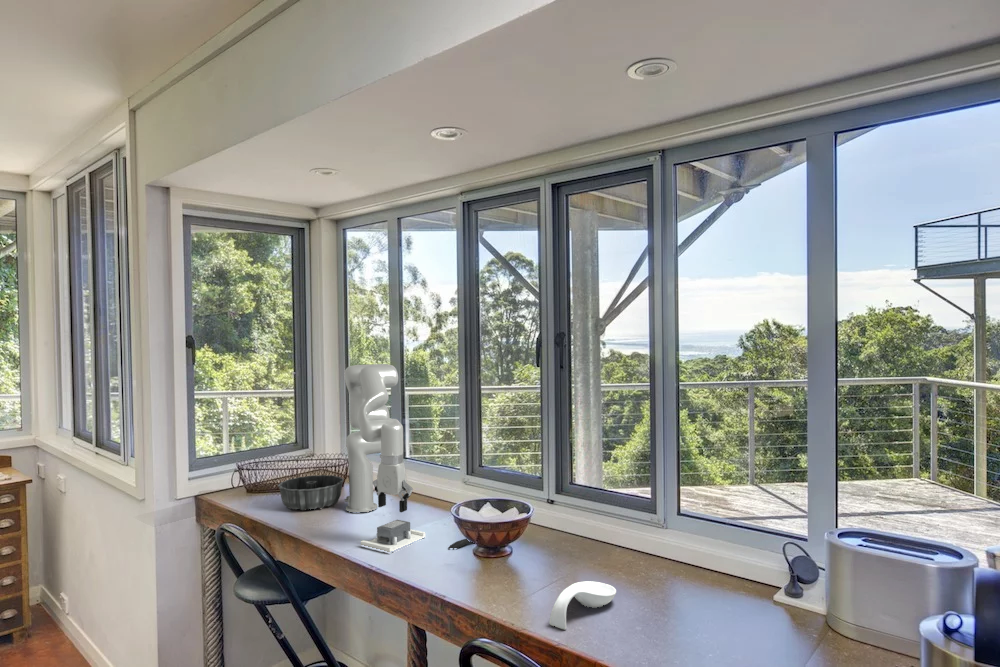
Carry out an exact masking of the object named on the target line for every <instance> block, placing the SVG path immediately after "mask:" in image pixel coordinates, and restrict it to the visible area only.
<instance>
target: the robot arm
mask: <svg viewBox="0 0 1000 667" xmlns="http://www.w3.org/2000/svg"><path fill="white" fill-rule="evenodd" d="M344 382H345V385H346V388H347V390H348V391H347V392H348V394H349V396H348V397H349V422H350V426H351V428H354V429H358V430H359V431H354V432H351V433H349V434H348V435H347V436H346V438H345V445H346V451H347V457H348V458H347V459H348V476H349V477H348V483H349V484H348V485H349V486H348V487H349V489H348V493H349V495H347V496H346V498H344V500H343V501H344V502H345V503H347V506H345V511H346V510H347V511H350V512H367V513H370V512H369V511H371V512H373V511H372V510H374V511H376V510H377V509H378V508H382V507H385V506H386V505H387V494H388V495H392V496H393V495H394V496H398V498H399V503H398V504H399V508H398V509H399V513H404V512H406V511H408V499H410V497H411V496H412V492H413V490H414V489H413V487H412V486H411V485H410V484H409V483H408V482H407V472H406V465H405V463H404V426H403V424H402V423H401V422H400V421H399V420H398V419H397V418H391V417H390V411H389V407H388V406H387V405H386V404H387V403H388V402H389V399H390V398H389V393H388V390H387V388H390V387H391V388H393V387H395V386H397V384H398V382H399V374H398V370H397V368H396V367H395V366H394V365H392V364H388V363H374V364H353V365H350V366H347V367H346V369H345V370H344ZM375 454H376V455H377V454H380V455H379V458H380V462H379V464H378V469H377V477H376V479H374V466H373V463H372V462H371V459H370V458H368V457H367V456H368V455H375ZM374 491H375V493H376V496H377V499H378V500H377V503H375V502H374ZM376 508H377V509H376ZM375 509H376V510H375ZM347 511H346V512H347ZM350 512H349V513H350Z"/></svg>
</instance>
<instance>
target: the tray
mask: <svg viewBox="0 0 1000 667" xmlns="http://www.w3.org/2000/svg"><path fill="white" fill-rule="evenodd" d="M424 537H425V538H426V532H425V531H421V530H417V529H412V528H410V531H408V538H406V539H404V540H401V541H399V542H397V537H394V544H392V545H387V544H383V543H379V542H377V537H375V538H373V539H371V540H370V539H369V540H361V541H360V546H361V545H364V546H368V547H372V548H376V549H380V550H384V551H387V552H391V551H394V550H396V549H398V548H401V547H403V546H405V545H408V544H410V543H412V542H414V541H417V540H419V539H422V538H424ZM422 540H423V539H422Z"/></svg>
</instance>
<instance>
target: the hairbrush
mask: <svg viewBox="0 0 1000 667" xmlns="http://www.w3.org/2000/svg"><path fill="white" fill-rule="evenodd" d="M470 543H471V542H469V541H468V540H467V538H464V539H460V540H457V541H455V542H453V543H452V544H450V545H449V547H448V548H458V549H460V548H461V547H463V546H465V545H467V544H470ZM459 547H460V548H459Z"/></svg>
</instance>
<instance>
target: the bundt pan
mask: <svg viewBox="0 0 1000 667" xmlns="http://www.w3.org/2000/svg"><path fill="white" fill-rule="evenodd" d="M344 479H345V478H343V477H341V476H337V475H334V474H333V475H330V474H329V475H326V474H319V475H307V476H297V477H296V478H295V477H294V478H293V477H292V478H290V479H289V478H288V479H286V480H284V481H281V482H280V483H278V484H277V487H278V488H279V492H280V498H281V501H282V503H283V505H284V507H286V508H288V509H289V508H292V509H291V510H294V509H300V510H301V511H303V510H305V509H306V510H309V509H310V510H309V511H312V510H311V509H314V510H316V509H319V508H322V509H323V508H325V507H324V506H328V507H330V506H332V504H333V505H335V504H336V503H338V501H339V499H340V497H341V495H342V490H343V482H344ZM306 510H305V511H306Z"/></svg>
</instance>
